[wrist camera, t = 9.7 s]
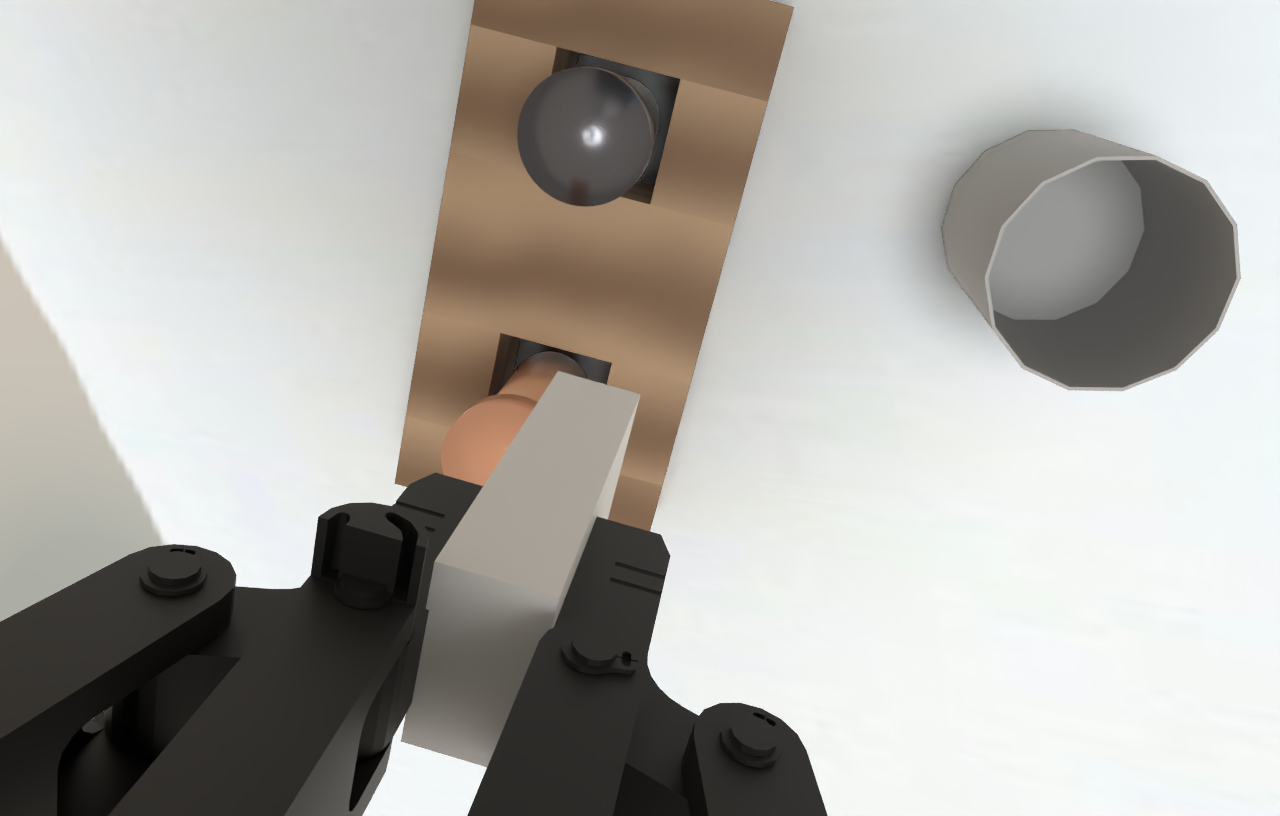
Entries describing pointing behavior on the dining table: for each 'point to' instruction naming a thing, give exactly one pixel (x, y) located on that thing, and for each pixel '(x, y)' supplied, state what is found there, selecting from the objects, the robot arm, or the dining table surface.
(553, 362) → the plug terracotta
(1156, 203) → the cup
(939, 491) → the dining table surface
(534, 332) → the socket block
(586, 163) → the plug grey
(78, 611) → the robot arm
